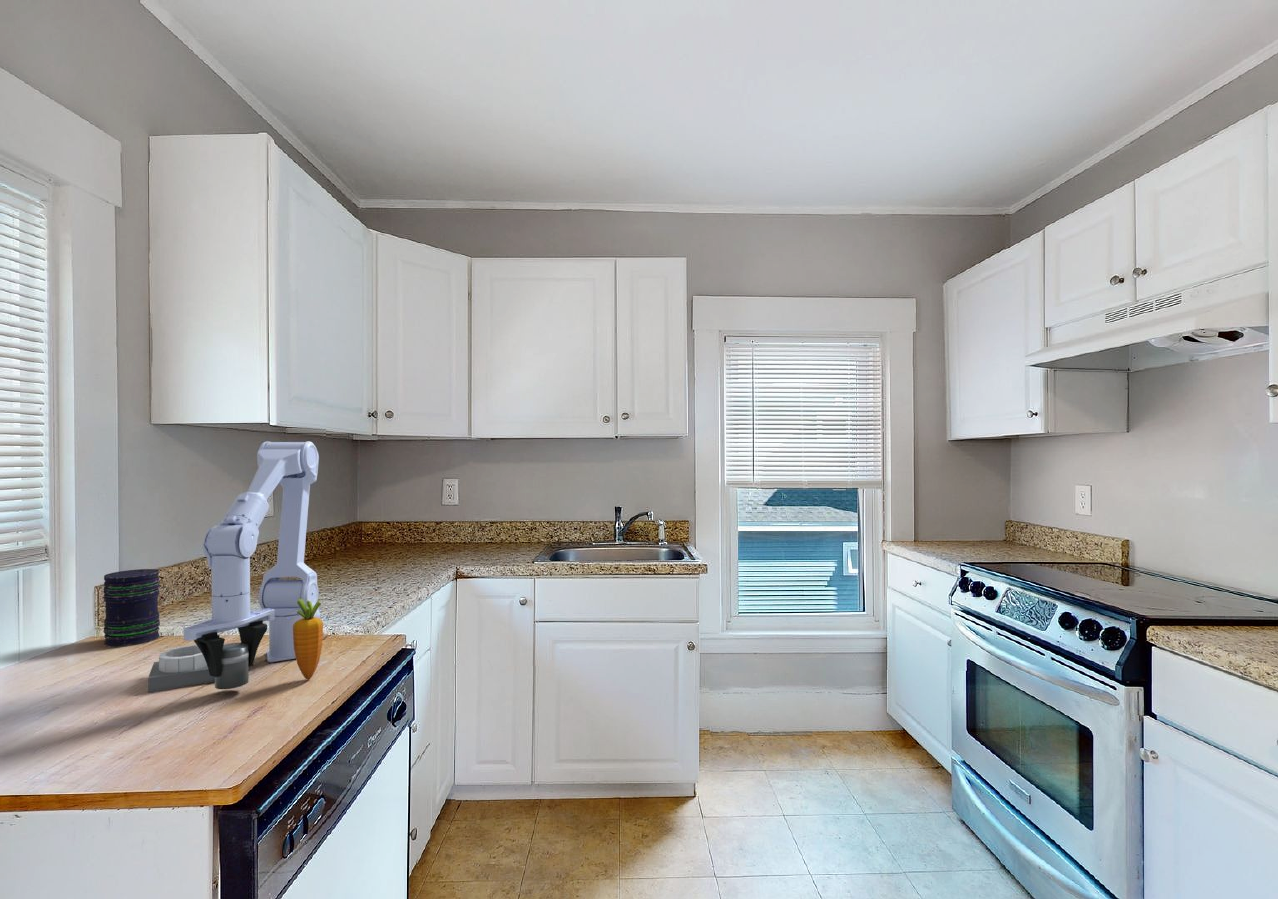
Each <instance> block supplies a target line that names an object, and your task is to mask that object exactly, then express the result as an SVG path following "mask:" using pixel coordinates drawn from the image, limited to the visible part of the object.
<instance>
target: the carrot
mask: <svg viewBox="0 0 1278 899" xmlns="http://www.w3.org/2000/svg"><path fill="white" fill-rule="evenodd" d="M297 603H298V605H299V606H300V608H301V609H302V611H303V612H302V611H297V613H298V614H300V615H301V616H302V617H304V618H301V619H299V620H298V621H296V622H295V623H294V625H293V642H294V651H295V656H296V658H295V659H296V663H297V666H298V669H299V671H300V672H301V674H302V675H303V677H304V679H306V680H307V681H309V680H311V679H312V677H313V676H314V674H315V672H316V670H317V667H318V665H319V662H320V659H321V653H322V648H323V637H324V634H323V633H324V622H323V620H322V619H321V618H320V619H319V618H317V617H313V616H314V615H315V613H316V611H317V609H319V607H320V606H321V604H322V602H321V601H319V600H317V602H316V604H315V605H314V606H312V603H311V601H307V602H306V603H307V605H308V607H306V605H305V603H304V601H303V600H302V599H299V600H298V601H297Z"/></svg>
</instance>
